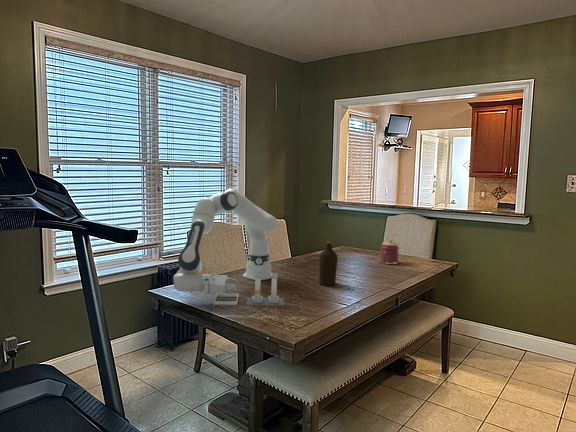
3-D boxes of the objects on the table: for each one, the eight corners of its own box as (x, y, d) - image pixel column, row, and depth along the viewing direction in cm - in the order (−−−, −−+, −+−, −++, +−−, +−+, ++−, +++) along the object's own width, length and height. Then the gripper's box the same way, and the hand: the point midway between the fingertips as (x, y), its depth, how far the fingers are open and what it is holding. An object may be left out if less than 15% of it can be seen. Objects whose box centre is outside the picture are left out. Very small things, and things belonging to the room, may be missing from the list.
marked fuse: (254, 300, 217) (255, 272, 216) (260, 300, 217) (261, 272, 216) (254, 301, 214) (254, 273, 213) (260, 302, 214) (261, 273, 213)
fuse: (270, 300, 218) (271, 272, 216) (276, 300, 218) (277, 272, 216) (270, 302, 215) (271, 274, 213) (276, 302, 215) (277, 274, 213)
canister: (386, 260, 330) (388, 237, 328) (401, 263, 320) (403, 239, 318) (376, 262, 321) (377, 238, 319) (391, 265, 311) (392, 241, 309)
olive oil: (330, 287, 248) (332, 244, 246) (314, 284, 254) (316, 241, 252) (339, 284, 257) (341, 241, 254) (323, 280, 263) (325, 239, 260)
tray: (216, 298, 221) (216, 293, 221) (238, 298, 222) (238, 293, 221) (213, 306, 208) (213, 301, 208) (236, 306, 209) (237, 301, 209)
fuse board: (247, 299, 221) (247, 293, 221) (283, 299, 223) (283, 294, 222) (246, 306, 210) (246, 300, 209) (284, 307, 211) (284, 301, 210)
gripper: (209, 283, 224) (237, 284, 225) (204, 295, 204) (234, 296, 204) (210, 271, 223) (237, 272, 224) (204, 282, 203) (234, 282, 204)
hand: (236, 283), depth 214 cm, fingers open, 8 cm apart
